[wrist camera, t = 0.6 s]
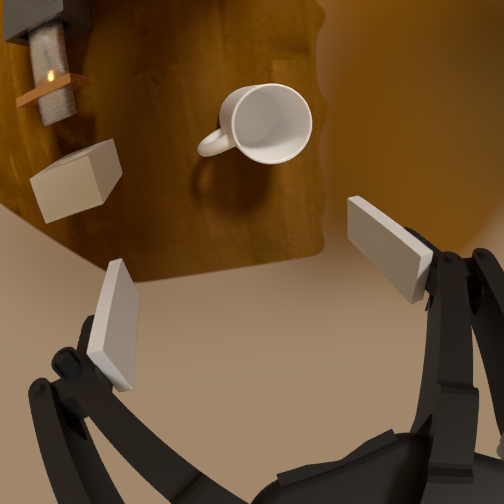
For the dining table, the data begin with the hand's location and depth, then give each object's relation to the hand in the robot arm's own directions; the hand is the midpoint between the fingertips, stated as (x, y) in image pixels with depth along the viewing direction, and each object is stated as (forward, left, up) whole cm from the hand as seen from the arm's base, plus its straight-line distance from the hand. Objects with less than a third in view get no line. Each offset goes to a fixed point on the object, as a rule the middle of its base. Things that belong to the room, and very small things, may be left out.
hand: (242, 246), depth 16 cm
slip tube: (-20, -14, -20) cm, 32 cm away
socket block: (-3, -14, -25) cm, 29 cm away
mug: (-4, +5, -25) cm, 26 cm away
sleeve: (-26, -14, -25) cm, 39 cm away
